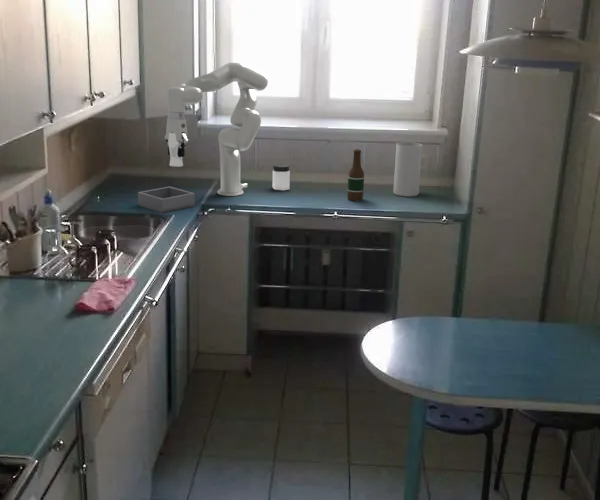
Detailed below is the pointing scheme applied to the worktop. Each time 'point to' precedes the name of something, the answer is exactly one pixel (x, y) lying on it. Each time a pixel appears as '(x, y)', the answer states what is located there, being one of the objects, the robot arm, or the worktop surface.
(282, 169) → the jar
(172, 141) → the beer glass
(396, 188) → the cylinder vase
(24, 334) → the worktop surface
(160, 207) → the bin
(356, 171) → the beer bottle
